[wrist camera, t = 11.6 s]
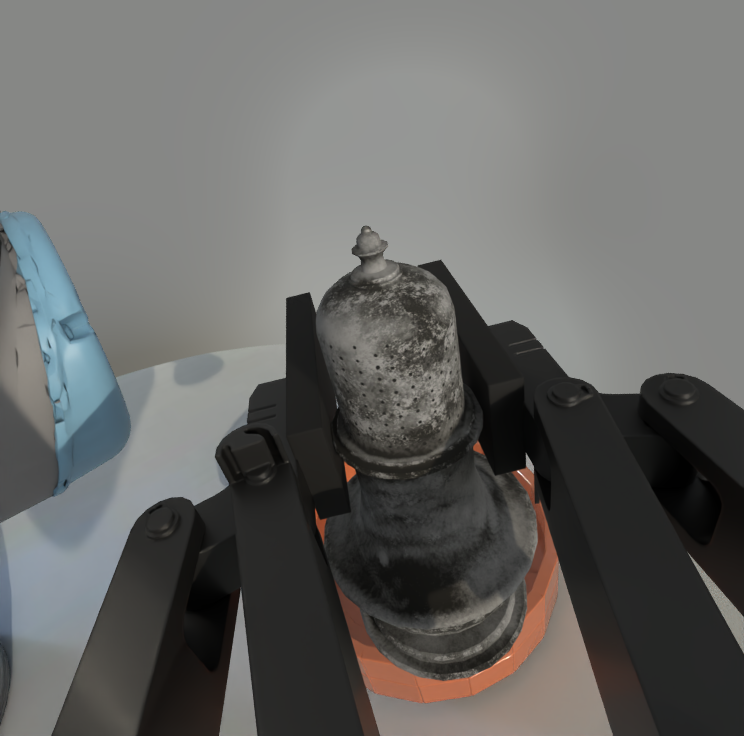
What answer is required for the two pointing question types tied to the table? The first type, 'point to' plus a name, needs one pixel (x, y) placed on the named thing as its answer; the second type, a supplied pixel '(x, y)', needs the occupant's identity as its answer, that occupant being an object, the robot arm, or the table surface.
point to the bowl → (540, 605)
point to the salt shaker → (418, 478)
